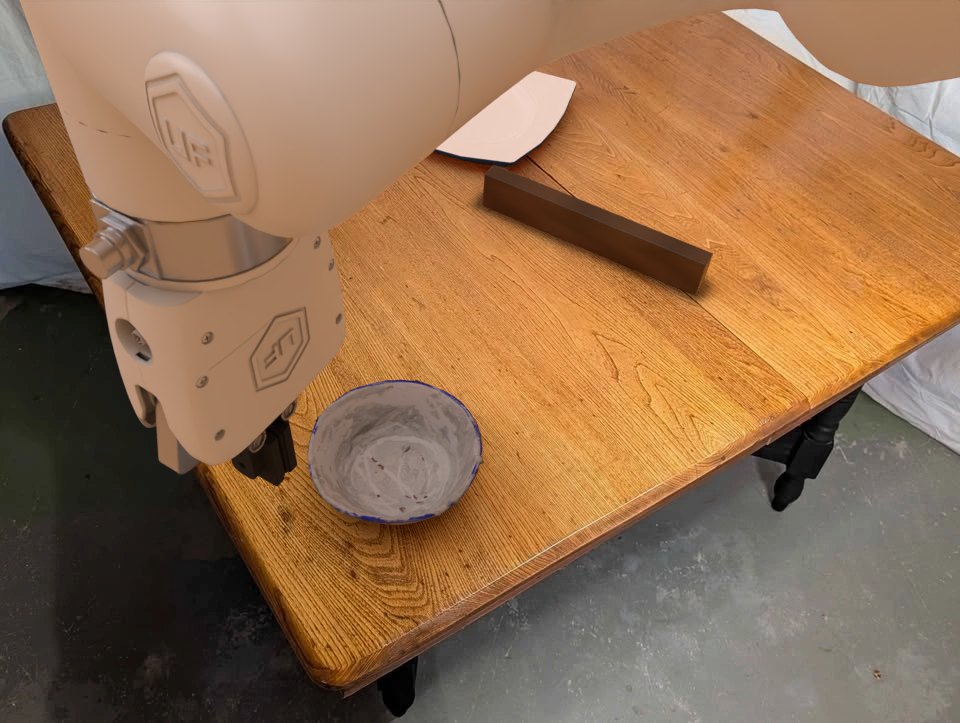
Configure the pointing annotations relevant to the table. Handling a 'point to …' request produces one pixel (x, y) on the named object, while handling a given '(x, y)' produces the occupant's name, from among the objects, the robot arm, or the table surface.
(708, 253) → the rail
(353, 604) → the table surface
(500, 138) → the plate
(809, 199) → the table surface
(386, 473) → the bowl
